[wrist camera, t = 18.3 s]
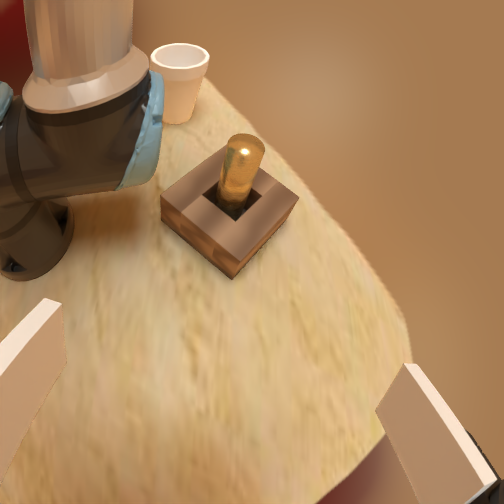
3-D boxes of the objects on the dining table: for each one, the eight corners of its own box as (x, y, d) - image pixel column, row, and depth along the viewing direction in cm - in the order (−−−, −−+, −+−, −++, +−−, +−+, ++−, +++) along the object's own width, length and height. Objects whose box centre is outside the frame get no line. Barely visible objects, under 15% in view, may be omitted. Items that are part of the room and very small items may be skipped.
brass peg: (206, 215, 43) (219, 144, 31) (224, 199, 45) (243, 128, 33) (227, 233, 43) (249, 166, 30) (245, 216, 45) (272, 148, 32)
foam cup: (210, 116, 54) (221, 58, 43) (171, 137, 50) (175, 75, 38) (178, 93, 55) (184, 39, 44) (140, 112, 51) (139, 53, 40)
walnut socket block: (161, 219, 42) (160, 194, 37) (221, 170, 49) (226, 144, 43) (231, 279, 41) (240, 261, 36) (285, 220, 47) (299, 197, 42)
